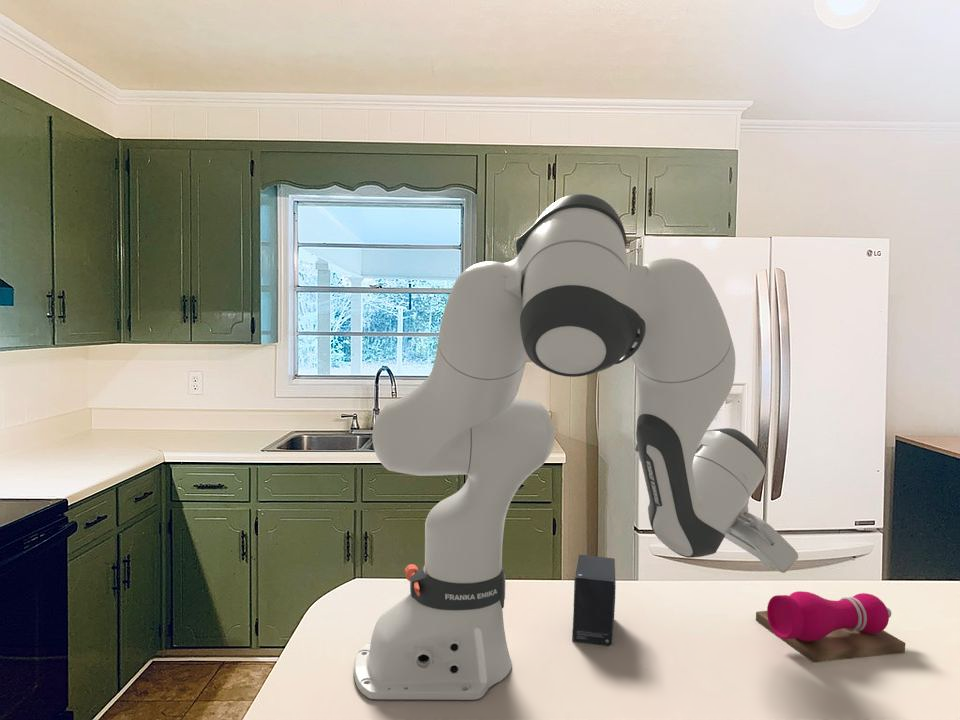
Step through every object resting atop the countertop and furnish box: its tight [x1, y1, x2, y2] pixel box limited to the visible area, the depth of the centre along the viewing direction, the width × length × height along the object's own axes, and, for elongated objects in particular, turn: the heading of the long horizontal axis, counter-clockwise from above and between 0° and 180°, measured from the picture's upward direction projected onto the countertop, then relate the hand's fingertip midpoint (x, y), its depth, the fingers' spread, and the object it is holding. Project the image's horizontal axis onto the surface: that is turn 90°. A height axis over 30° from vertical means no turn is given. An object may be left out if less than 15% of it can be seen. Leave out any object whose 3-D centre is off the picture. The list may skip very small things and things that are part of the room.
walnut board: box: [755, 610, 906, 663], centre depth 109 cm, size 16×14×2 cm
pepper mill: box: [766, 590, 892, 642], centre depth 106 cm, size 7×7×20 cm
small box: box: [571, 554, 617, 646], centre depth 110 cm, size 11×6×10 cm, turn 168°
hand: (772, 563), depth 106 cm, fingers closed
